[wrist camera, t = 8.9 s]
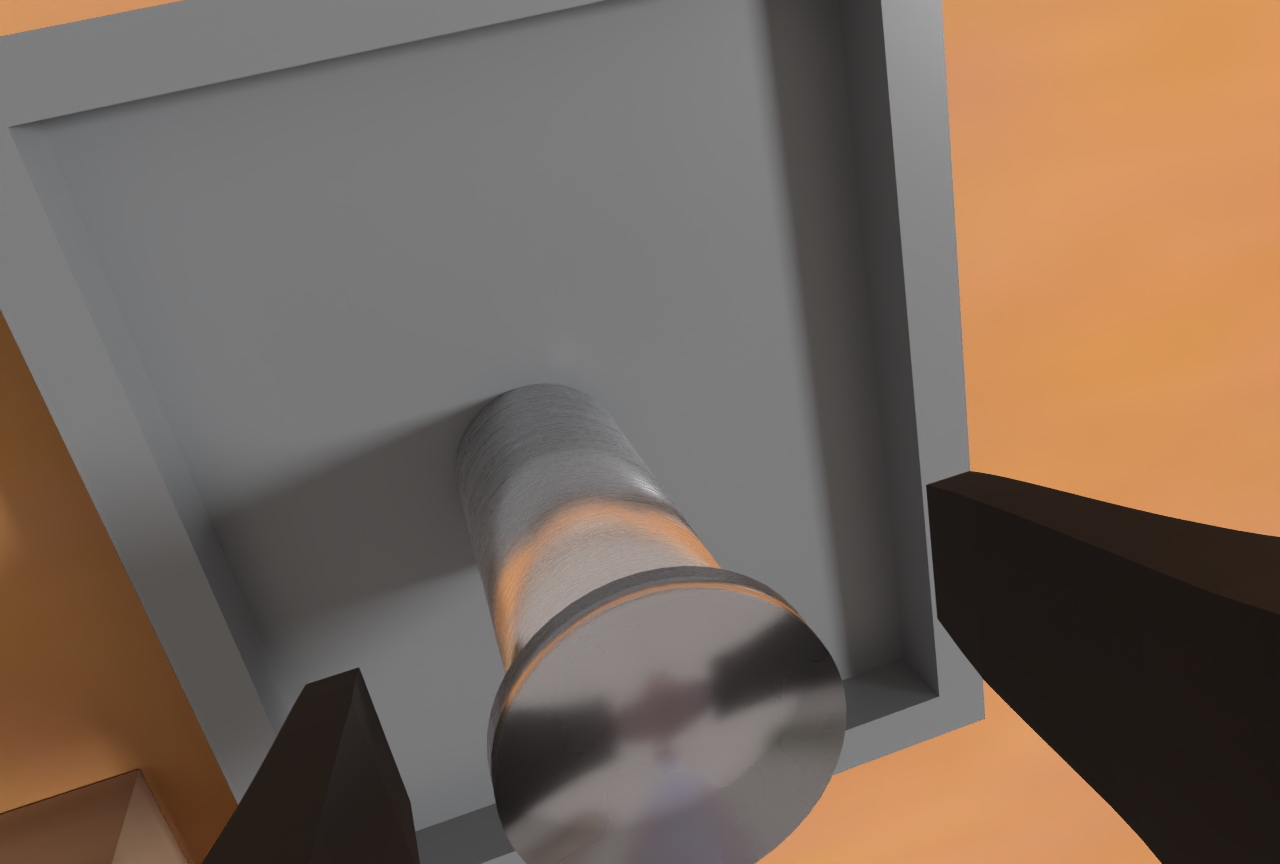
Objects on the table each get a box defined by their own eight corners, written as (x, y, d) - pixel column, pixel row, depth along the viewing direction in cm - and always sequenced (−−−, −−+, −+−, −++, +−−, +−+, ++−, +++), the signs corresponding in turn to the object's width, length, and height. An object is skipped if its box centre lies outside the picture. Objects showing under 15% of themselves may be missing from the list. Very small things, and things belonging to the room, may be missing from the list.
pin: (656, 531, 18) (854, 838, 11) (456, 583, 18) (531, 947, 10) (629, 340, 17) (837, 553, 10) (409, 387, 16) (458, 656, 9)
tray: (934, 664, 22) (984, 718, 21) (318, 884, 20) (316, 967, 18) (866, -125, 16) (933, -147, 14) (-57, 58, 13) (-121, 59, 12)
